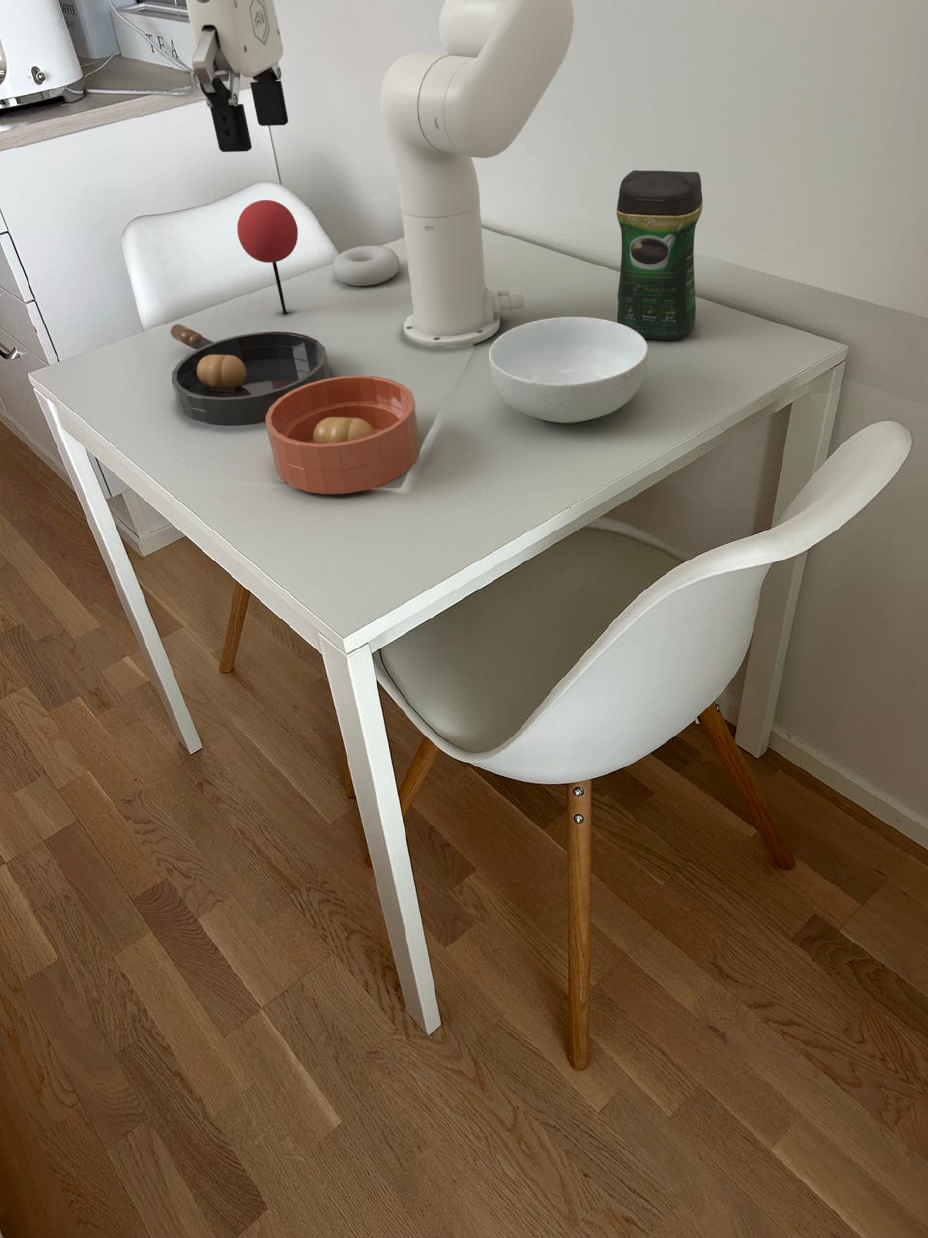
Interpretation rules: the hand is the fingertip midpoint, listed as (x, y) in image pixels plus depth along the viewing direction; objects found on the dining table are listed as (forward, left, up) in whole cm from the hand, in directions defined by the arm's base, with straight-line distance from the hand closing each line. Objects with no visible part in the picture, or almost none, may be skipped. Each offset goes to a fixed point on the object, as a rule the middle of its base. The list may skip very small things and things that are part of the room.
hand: (255, 137), depth 97 cm
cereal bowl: (-28, +14, -28) cm, 42 cm away
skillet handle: (+13, -15, -26) cm, 33 cm away
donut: (-12, -36, -28) cm, 47 cm away
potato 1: (+10, -5, -28) cm, 30 cm away
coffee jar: (-44, -2, -28) cm, 52 cm away
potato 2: (-3, +17, -28) cm, 33 cm away
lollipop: (+1, -27, -28) cm, 39 cm away
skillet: (+6, -3, -28) cm, 29 cm away
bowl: (-3, +17, -28) cm, 33 cm away
